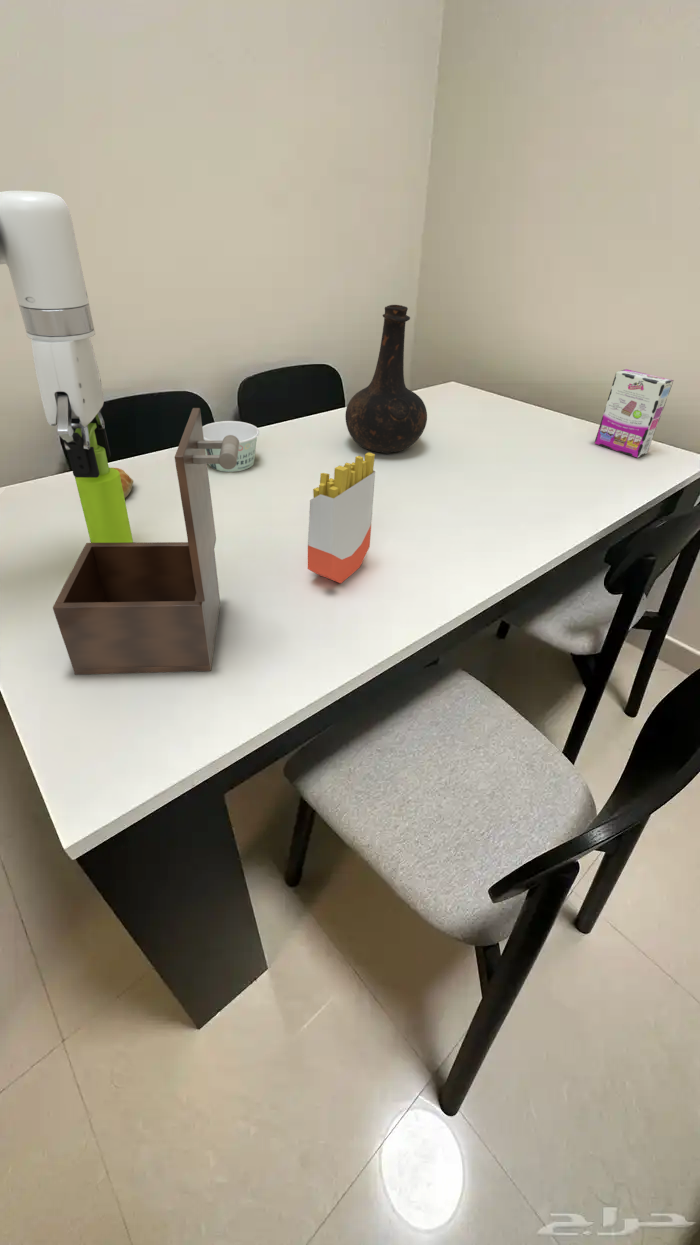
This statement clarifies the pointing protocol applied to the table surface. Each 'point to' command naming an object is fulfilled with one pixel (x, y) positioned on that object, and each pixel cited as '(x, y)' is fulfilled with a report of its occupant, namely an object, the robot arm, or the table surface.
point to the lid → (200, 494)
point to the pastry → (125, 482)
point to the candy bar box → (633, 412)
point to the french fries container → (341, 519)
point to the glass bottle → (387, 396)
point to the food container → (245, 436)
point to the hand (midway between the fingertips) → (93, 465)
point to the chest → (137, 610)
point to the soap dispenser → (103, 499)
